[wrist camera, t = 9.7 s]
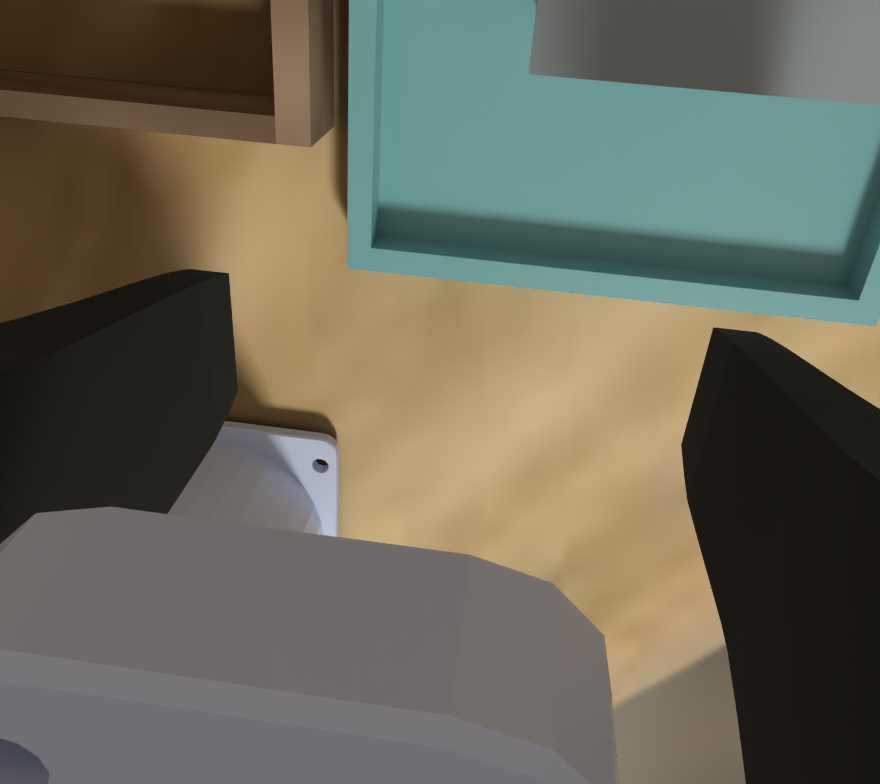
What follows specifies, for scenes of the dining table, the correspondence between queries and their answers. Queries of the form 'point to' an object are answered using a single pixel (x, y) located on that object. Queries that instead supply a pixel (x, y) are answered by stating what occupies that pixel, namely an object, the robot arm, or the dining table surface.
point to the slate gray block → (716, 45)
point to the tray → (599, 174)
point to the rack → (203, 92)
